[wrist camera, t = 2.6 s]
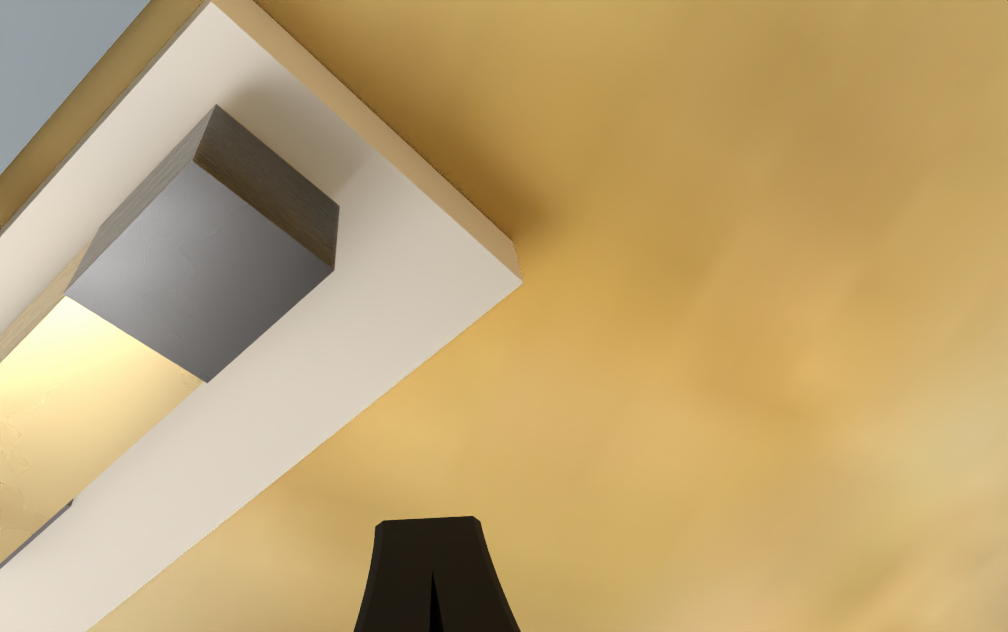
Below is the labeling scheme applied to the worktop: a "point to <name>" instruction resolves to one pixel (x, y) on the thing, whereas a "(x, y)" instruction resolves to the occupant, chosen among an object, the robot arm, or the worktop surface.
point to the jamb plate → (284, 346)
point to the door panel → (50, 58)
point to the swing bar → (153, 312)
